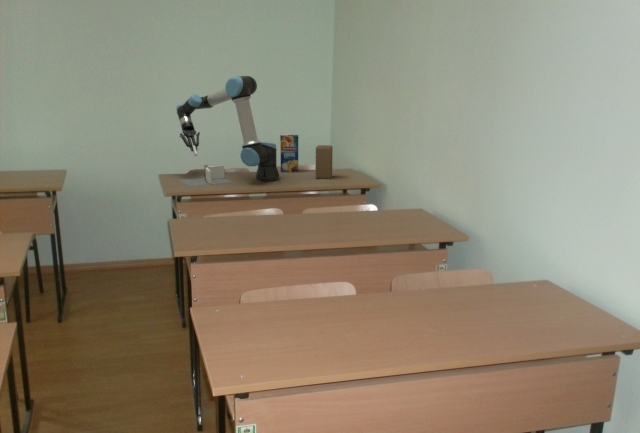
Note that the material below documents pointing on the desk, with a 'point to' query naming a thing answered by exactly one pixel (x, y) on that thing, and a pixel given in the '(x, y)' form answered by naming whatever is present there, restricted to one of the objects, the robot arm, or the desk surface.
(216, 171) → the fence
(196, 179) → the card
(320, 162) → the wooden block
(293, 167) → the juice carton
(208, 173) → the hinged panel
